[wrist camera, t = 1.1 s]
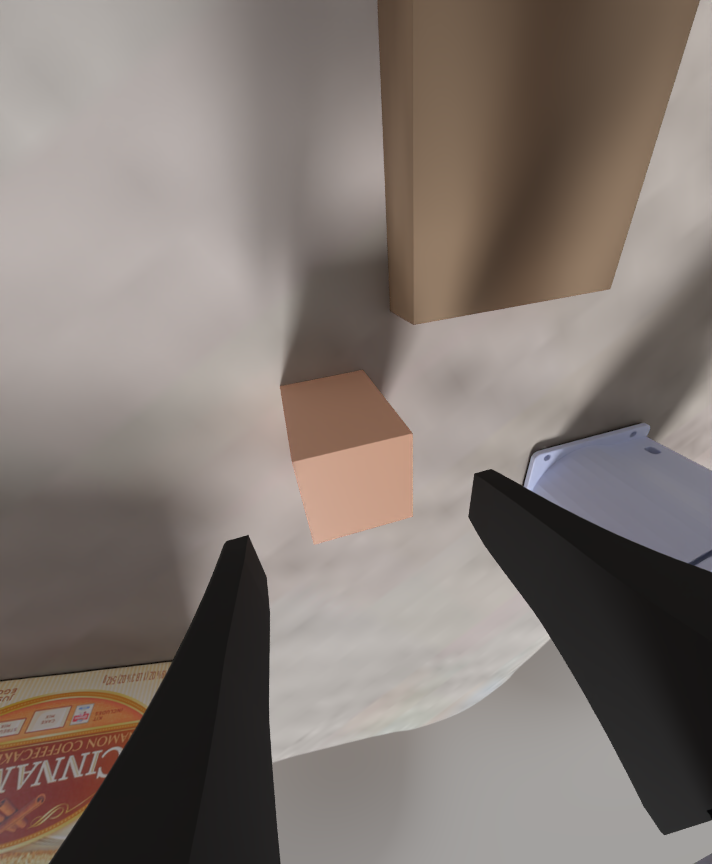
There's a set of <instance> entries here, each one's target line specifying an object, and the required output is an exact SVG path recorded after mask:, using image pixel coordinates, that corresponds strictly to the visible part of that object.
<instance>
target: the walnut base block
mask: <svg viewBox="0 0 712 864" xmlns="http://www.w3.org/2000/svg"><path fill="white" fill-rule="evenodd" d="M699 1H700V0H377V2H378V27H379V51H380V76H381V100H382V125H383V149H384V174H385V198H386V223H387V247H388V272H389V296H390V311H391V312H392V313H394V314H396V315H398V316H399V317H401V318H403V319H404V320H406V321H408V322H410V323H411V324H413V325H416V324H421V323H427V322H432V321H438V320H443V319H449V318H454V317H460V316H465V315H471V314H476V313H482V312H487V311H493V310H498V309H504V308H509V307H515V306H520V305H526V304H531V303H537V302H542V301H548V300H553V299H559V298H564V297H570V296H575V295H581V294H586V293H592V292H597V291H603V290H608V289H610V288H611V285H612V282H613V279H614V275H615V272H616V269H617V266H618V263H619V259H620V256H621V253H622V250H623V246H624V243H625V240H626V237H627V234H628V230H629V227H630V224H631V221H632V217H633V214H634V211H635V208H636V204H637V201H638V198H639V195H640V192H641V188H642V185H643V182H644V179H645V175H646V172H647V169H648V166H649V163H650V159H651V156H652V153H653V150H654V146H655V143H656V140H657V137H658V134H659V130H660V127H661V124H662V121H663V117H664V114H665V111H666V108H667V104H668V101H669V98H670V95H671V92H672V88H673V85H674V82H675V79H676V75H677V72H678V69H679V66H680V63H681V59H682V56H683V53H684V50H685V46H686V43H687V40H688V37H689V34H690V30H691V27H692V24H693V21H694V17H695V14H696V11H697V8H698V4H699Z"/></svg>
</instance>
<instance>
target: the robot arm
mask: <svg viewBox="0 0 712 864" xmlns="http://www.w3.org/2000/svg"><path fill="white" fill-rule="evenodd" d="M649 431H650V425H648V424H646V423H641V424H637V425H633V426H630V427H626V428H622V429H618V430H615V431H611V432H607V433H603V434H600V435H596V436H592V437H588V438H584V439H581V440H577V441H573V442H569V443H566V444H562V445H558V446H554V447H551V448H547V449H543V450H539V451H537V452H535V453H534V454H533V455H532V457H531V460H530V464H529V468H528V471H527V475H526V479H525V483H524V487H523V486H522V485H520V484H518V483H516V482H514V481H513V480H511V479H509V478H507V477H505V476H504V475H502V474H500V473H498V472H496V471H494V470H492V469H490V470H486V471H482V472H479V473H475V474H474V480H473V487H472V494H471V502H470V509H469V516H468V517H469V519H470V521H471V523H472V525H473V526H474V528H475V530H476V532H477V534H478V535H479V537H480V539H481V540H482V542H483V544H484V545H485V547H486V548H487V549H488V551H489V552H490V554H491V555H492V556H493V558H494V559H495V560H496V562H497V563H498V564H499V566H500V567H501V568H502V570H503V571H504V572H505V574H506V575H507V576H508V578H509V579H510V580H511V582H512V583H513V585H514V586H515V587H516V589H517V590H518V591H519V593H520V594H521V595H522V597H523V598H524V599H525V601H526V602H527V603H528V605H529V606H530V607H531V609H532V610H533V611H534V613H535V614H536V616H537V617H538V619H539V620H540V622H541V623H542V625H543V626H544V628H545V629H546V631H547V633H548V634H549V636H550V638H551V639H552V641H553V642H554V644H555V646H556V647H557V649H558V650H559V652H560V654H561V655H562V657H563V659H564V660H565V662H566V664H567V665H568V667H569V669H570V670H571V672H572V674H573V675H574V677H575V679H576V681H577V682H578V684H579V686H580V687H581V689H582V691H583V693H584V694H585V696H586V698H587V699H588V701H589V703H590V705H591V707H592V709H593V710H594V712H595V714H596V716H597V718H598V719H599V721H600V723H601V725H602V727H603V728H604V730H605V732H606V734H607V736H608V738H609V740H610V741H611V743H612V745H613V747H614V749H615V751H616V753H617V755H618V757H619V759H620V761H621V762H622V764H623V766H624V768H625V770H626V772H627V774H628V776H629V778H630V780H631V782H632V784H633V786H634V788H635V790H636V792H637V794H638V796H639V798H640V800H641V802H642V804H643V806H644V808H645V809H646V810H647V812H648V813H649V815H650V816H651V818H652V819H653V821H654V822H655V824H656V825H657V827H658V828H659V830H660V831H661V832H662V833H663V834H664V835H667V834H670V833H673V832H676V831H679V830H682V829H686V828H689V827H692V826H695V825H698V824H701V823H704V822H707V821H710V820H712V471H711V470H709V469H707V468H705V467H704V466H702V465H700V464H698V463H696V462H694V461H692V460H690V459H688V458H686V457H684V456H683V455H681V454H679V453H677V452H675V451H673V450H671V449H669V448H667V447H665V446H663V445H661V444H660V443H658V442H656V441H654V440H652V439H650V438H648V437H647V435H648V433H649ZM269 653H270V609H269V597H268V587H267V577H266V575H265V572H264V570H263V568H262V565H261V563H260V561H259V559H258V556H257V554H256V552H255V549H254V547H253V545H252V542H251V540H250V538H249V535H247V536H243V537H240V538H236V539H232V540H229V541H226V543H225V544H224V546H223V548H222V551H221V554H220V556H219V559H218V562H217V564H216V567H215V569H214V572H213V574H212V577H211V579H210V582H209V584H208V586H207V589H206V591H205V594H204V596H203V598H202V600H201V603H200V605H199V607H198V609H197V611H196V614H195V616H194V618H193V620H192V623H191V625H190V627H189V629H188V631H187V633H186V635H185V637H184V639H183V641H182V643H181V645H180V647H179V649H178V651H177V653H176V655H175V657H174V659H173V661H172V663H171V665H170V667H169V669H168V671H167V673H166V675H165V677H164V678H163V680H162V682H161V684H160V686H159V688H158V690H157V691H156V693H155V695H154V697H153V699H152V700H151V702H150V704H149V706H148V707H147V709H146V711H145V713H144V714H143V716H142V718H141V720H140V721H139V723H138V725H137V727H136V728H135V730H134V732H133V733H132V735H131V737H130V738H129V740H128V742H127V743H126V745H125V746H124V748H123V750H122V751H121V753H120V755H119V756H118V758H117V760H116V761H115V763H114V764H113V766H112V768H111V769H110V771H109V773H108V774H107V776H106V777H105V779H104V781H103V782H102V784H101V785H100V787H99V789H98V790H97V792H96V793H95V795H94V796H93V798H92V799H91V801H90V803H89V804H88V806H87V807H86V809H85V810H84V812H83V813H82V815H81V816H80V818H79V819H78V821H77V822H76V824H75V825H74V827H73V828H72V830H71V831H70V833H69V834H68V836H67V837H66V839H65V840H64V842H63V843H62V844H61V846H60V847H59V849H58V850H57V852H56V853H55V855H54V856H53V858H52V859H51V861H50V862H49V864H280V854H279V843H278V832H277V821H276V809H275V795H274V783H273V771H272V756H271V741H270V726H269ZM694 864H712V854H710V855H708V856H706V857H705V858H703V859H701V860H700V861H698V862H696V863H694Z"/></svg>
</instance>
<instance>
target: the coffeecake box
mask: <svg viewBox="0 0 712 864" xmlns="http://www.w3.org/2000/svg"><path fill="white" fill-rule="evenodd" d="M171 663H172V662H164V663H156V664H147V665H138V666H130V667H121V668H113V669H104V670H96V671H88V672H80V673H71V674H61V675H52V676H43V677H34V678H26V679H17V680H8V681H0V864H49V862H50V861H51V859H52V858H53V856H54V855H55V853H56V852H57V850H58V849H59V847H60V846H61V844H62V843H63V842H64V840H65V839H66V837H67V836H68V834H69V833H70V831H71V830H72V828H73V827H74V825H75V824H76V822H77V821H78V819H79V818H80V816H81V815H82V813H83V812H84V810H85V809H86V807H87V806H88V804H89V803H90V801H91V799H92V798H93V796H94V795H95V793H96V792H97V790H98V789H99V787H100V785H101V784H102V782H103V781H104V779H105V777H106V776H107V774H108V773H109V771H110V769H111V768H112V766H113V764H114V763H115V761H116V760H117V758H118V756H119V755H120V753H121V751H122V750H123V748H124V746H125V745H126V743H127V742H128V740H129V738H130V737H131V735H132V733H133V732H134V730H135V728H136V727H137V725H138V723H139V721H140V720H141V718H142V716H143V714H144V713H145V711H146V709H147V707H148V706H149V704H150V702H151V700H152V699H153V697H154V695H155V693H156V691H157V690H158V688H159V686H160V684H161V682H162V680H163V678H164V677H165V675H166V673H167V671H168V669H169V667H170V665H171Z"/></svg>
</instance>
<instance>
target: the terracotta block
mask: <svg viewBox="0 0 712 864" xmlns="http://www.w3.org/2000/svg"><path fill="white" fill-rule="evenodd" d="M280 390H281V396H282V403H283V409H284V415H285V421H286V428H287V434H288V440H289V446H290V453H291V459H292V464H293V468H294V472H295V475H296V479H297V483H298V487H299V490H300V494H301V498H302V501H303V505H304V509H305V513H306V516H307V520H308V524H309V528H310V531H311V535H312V539H313V543H314V545H315V544H318V543H322V542H325V541H329V540H333V539H336V538H340V537H343V536H347V535H350V534H354V533H357V532H361V531H364V530H368V529H371V528H375V527H378V526H382V525H385V524H389V523H392V522H396V521H399V520H403V519H406V518H410V517H413V433H412V432H411V431H410V429H409V428H408V427H407V426H406V424H405V423H404V422H403V420H402V419H401V418H400V417H399V415H398V414H397V413H396V412H395V410H394V409H393V408H392V406H391V405H390V404H389V403H388V401H387V400H386V399H385V398H384V396H383V395H382V394H381V392H380V391H379V390H378V389H377V387H376V386H375V385H374V384H373V382H372V381H371V380H370V378H369V377H368V376H367V375H366V373H365V372H364V371H363V370H359V371H354V372H349V373H344V374H339V375H334V376H329V377H324V378H319V379H314V380H309V381H304V382H298V383H293V384H288V385H283V386H280Z"/></svg>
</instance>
